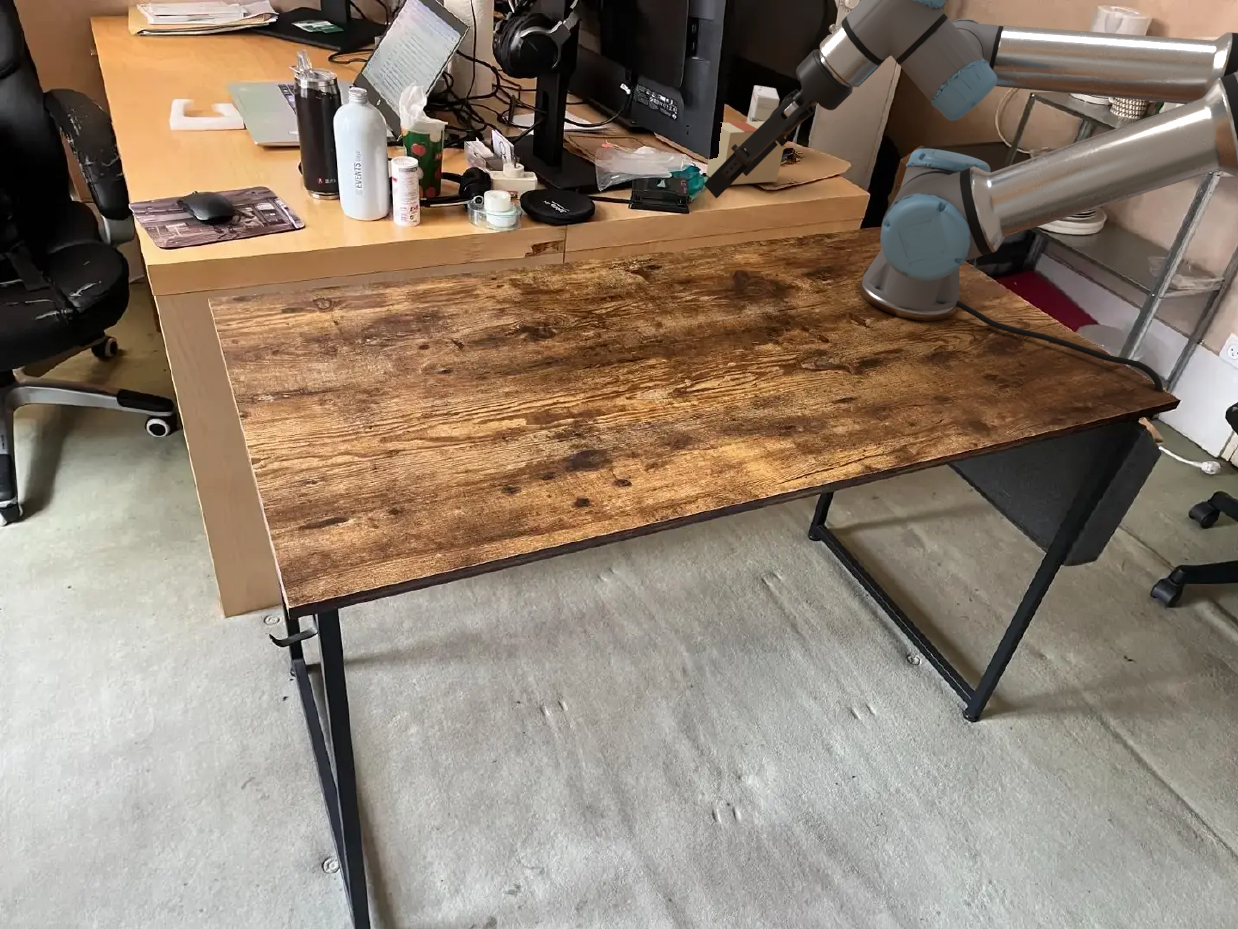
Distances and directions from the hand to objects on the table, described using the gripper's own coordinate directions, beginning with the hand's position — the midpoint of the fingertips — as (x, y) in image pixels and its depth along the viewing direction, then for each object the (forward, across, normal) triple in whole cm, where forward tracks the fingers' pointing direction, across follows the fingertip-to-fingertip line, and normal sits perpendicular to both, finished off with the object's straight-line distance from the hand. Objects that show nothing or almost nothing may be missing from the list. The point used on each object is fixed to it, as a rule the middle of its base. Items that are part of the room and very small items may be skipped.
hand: (726, 179), depth 132 cm
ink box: (+19, -69, -5) cm, 72 cm away
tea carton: (+13, -47, -4) cm, 49 cm away
